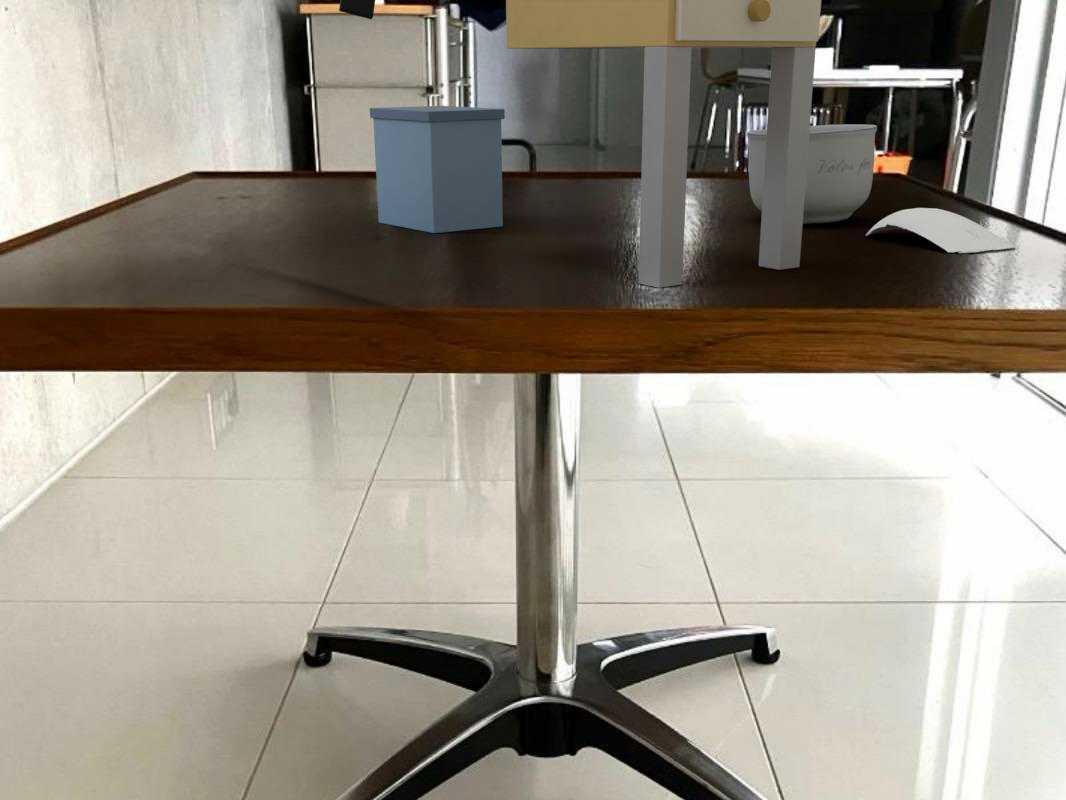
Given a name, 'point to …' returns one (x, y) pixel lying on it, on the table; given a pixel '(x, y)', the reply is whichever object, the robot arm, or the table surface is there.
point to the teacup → (825, 170)
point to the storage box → (439, 167)
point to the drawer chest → (667, 36)
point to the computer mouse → (943, 230)
